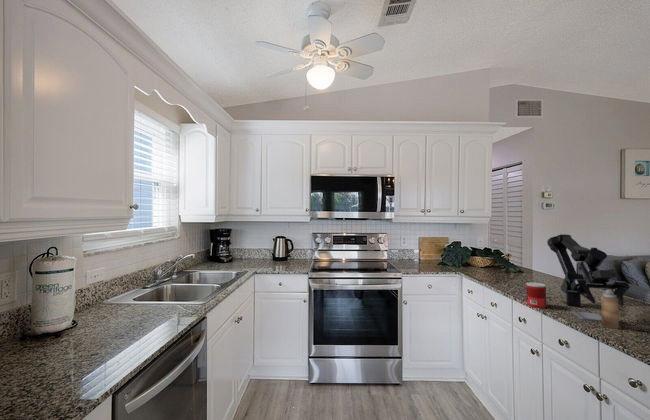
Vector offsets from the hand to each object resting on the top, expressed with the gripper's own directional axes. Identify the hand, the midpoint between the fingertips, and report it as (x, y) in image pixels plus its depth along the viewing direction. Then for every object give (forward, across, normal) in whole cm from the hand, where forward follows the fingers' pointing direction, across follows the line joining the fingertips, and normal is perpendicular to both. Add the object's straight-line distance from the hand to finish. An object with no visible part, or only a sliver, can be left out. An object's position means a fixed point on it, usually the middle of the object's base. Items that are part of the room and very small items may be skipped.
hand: (608, 304), depth 117 cm
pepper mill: (+7, 0, +6) cm, 9 cm away
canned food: (-8, -18, +21) cm, 29 cm away
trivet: (0, -2, +12) cm, 13 cm away
